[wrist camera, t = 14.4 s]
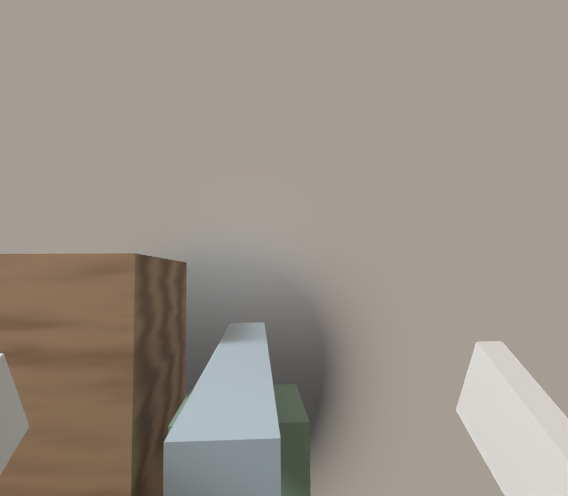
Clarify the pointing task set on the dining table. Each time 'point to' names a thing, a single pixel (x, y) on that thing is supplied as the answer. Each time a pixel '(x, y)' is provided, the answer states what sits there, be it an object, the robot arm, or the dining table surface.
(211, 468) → the rod
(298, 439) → the post
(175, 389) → the stand
